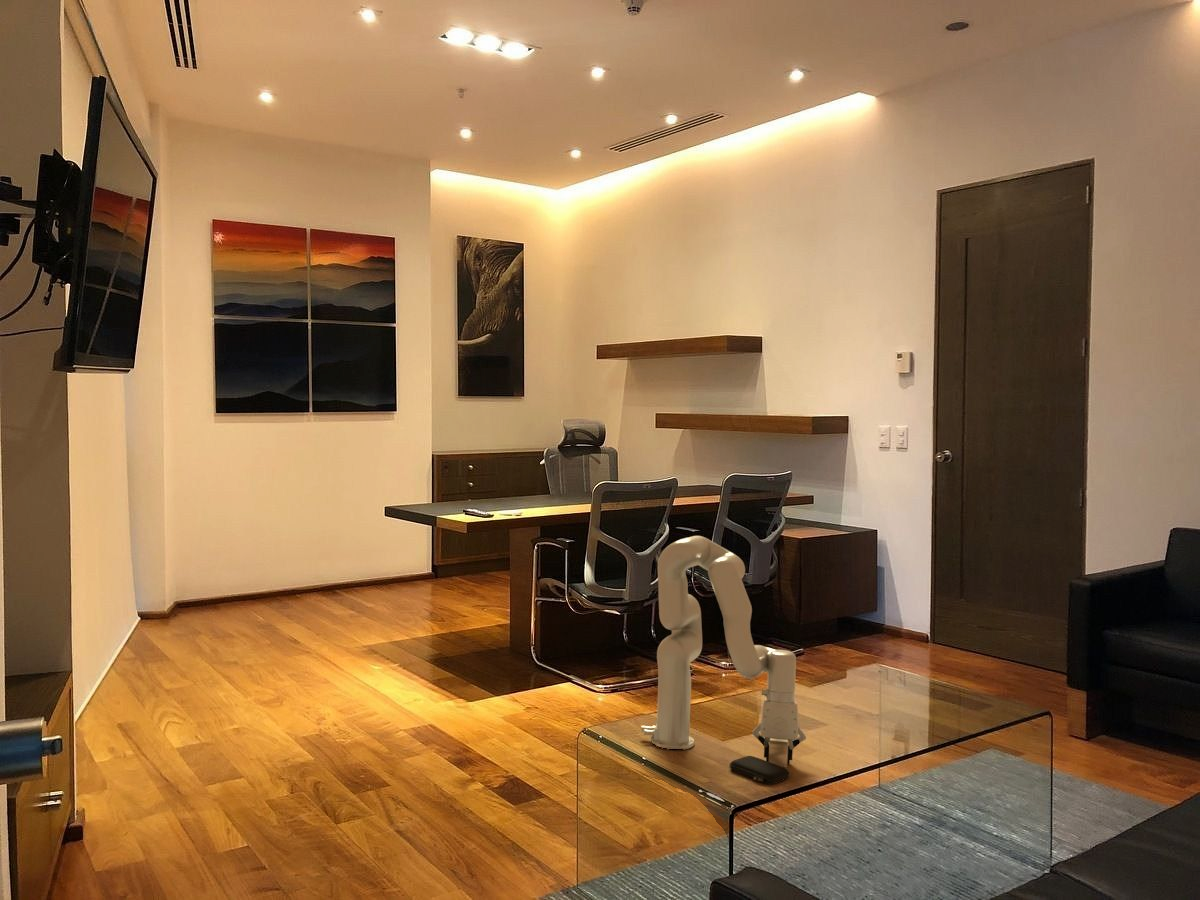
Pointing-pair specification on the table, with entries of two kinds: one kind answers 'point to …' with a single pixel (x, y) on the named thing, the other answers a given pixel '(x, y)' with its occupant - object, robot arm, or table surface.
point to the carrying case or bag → (759, 769)
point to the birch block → (778, 752)
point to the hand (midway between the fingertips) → (777, 760)
